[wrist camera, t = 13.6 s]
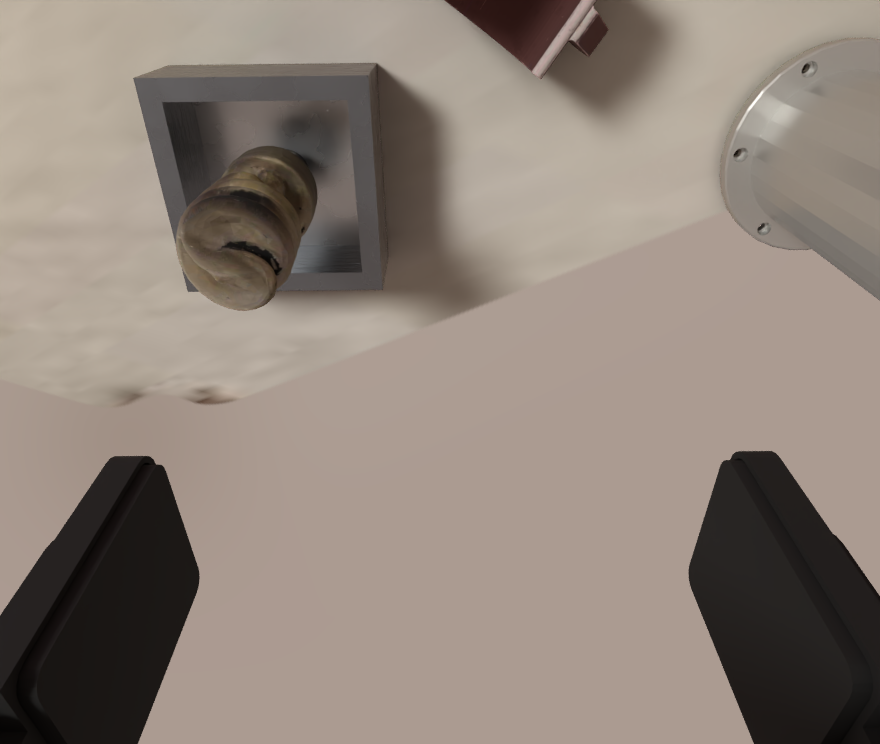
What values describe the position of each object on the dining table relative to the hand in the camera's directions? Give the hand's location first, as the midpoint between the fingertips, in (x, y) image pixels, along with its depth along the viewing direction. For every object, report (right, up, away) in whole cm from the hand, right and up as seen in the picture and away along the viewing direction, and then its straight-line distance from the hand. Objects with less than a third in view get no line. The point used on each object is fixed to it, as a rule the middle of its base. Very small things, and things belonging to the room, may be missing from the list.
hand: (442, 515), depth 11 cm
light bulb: (-10, +15, +29) cm, 35 cm away
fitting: (-10, +16, +30) cm, 35 cm away
